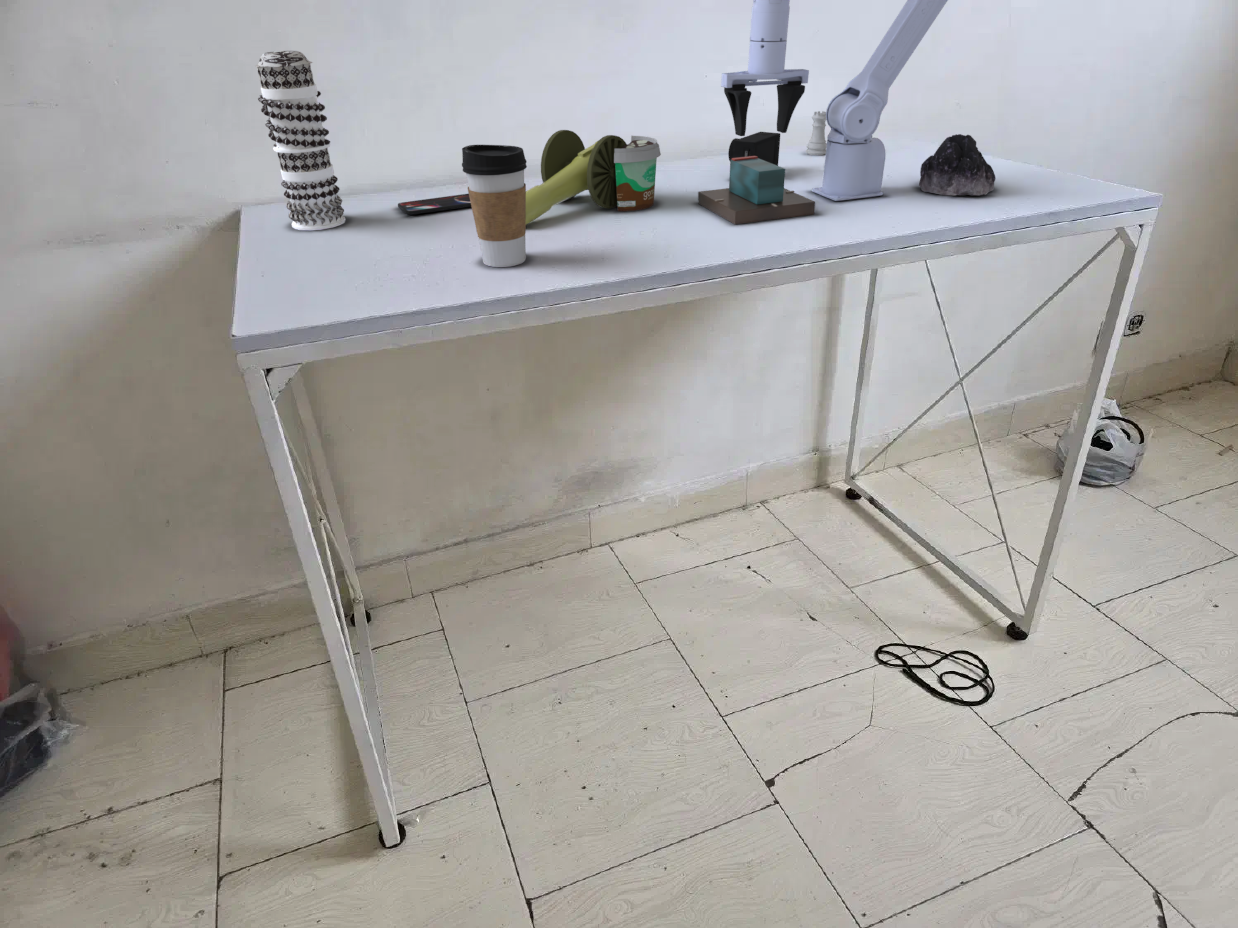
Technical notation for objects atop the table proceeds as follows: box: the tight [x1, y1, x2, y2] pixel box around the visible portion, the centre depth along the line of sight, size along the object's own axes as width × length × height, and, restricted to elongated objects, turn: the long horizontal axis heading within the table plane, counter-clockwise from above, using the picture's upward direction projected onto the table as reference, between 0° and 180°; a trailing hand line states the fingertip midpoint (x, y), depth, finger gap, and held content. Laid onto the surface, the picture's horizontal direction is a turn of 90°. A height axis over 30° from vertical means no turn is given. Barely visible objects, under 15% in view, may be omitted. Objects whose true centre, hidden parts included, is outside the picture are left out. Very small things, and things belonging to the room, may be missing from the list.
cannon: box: [526, 129, 627, 226], centre depth 131 cm, size 25×12×11 cm, turn 142°
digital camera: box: [727, 131, 781, 166], centre depth 151 cm, size 10×5×7 cm, turn 144°
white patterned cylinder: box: [254, 50, 346, 231], centre depth 125 cm, size 9×9×25 cm
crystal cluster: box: [918, 133, 997, 197], centre depth 137 cm, size 13×14×10 cm
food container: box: [614, 135, 662, 212], centre depth 133 cm, size 12×6×10 cm, turn 166°
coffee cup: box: [461, 144, 528, 268], centre depth 108 cm, size 8×8×15 cm
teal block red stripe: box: [728, 156, 786, 205], centre depth 129 cm, size 10×5×5 cm, turn 20°
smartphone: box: [397, 193, 472, 216], centre depth 138 cm, size 7×1×15 cm
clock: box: [697, 187, 816, 225], centre depth 131 cm, size 14×14×2 cm
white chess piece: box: [805, 110, 827, 156], centre depth 166 cm, size 4×4×8 cm
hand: (761, 133), depth 132 cm, fingers open, 7 cm apart
